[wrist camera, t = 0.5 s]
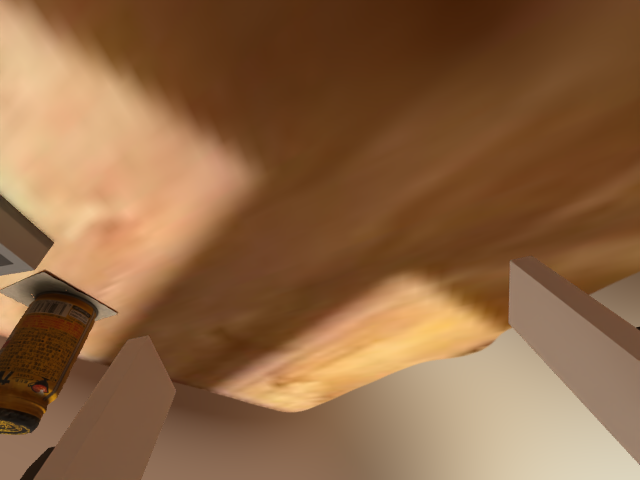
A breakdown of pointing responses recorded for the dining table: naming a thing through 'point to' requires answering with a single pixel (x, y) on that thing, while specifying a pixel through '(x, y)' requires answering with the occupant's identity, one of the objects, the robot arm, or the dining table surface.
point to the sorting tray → (19, 241)
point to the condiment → (42, 348)
